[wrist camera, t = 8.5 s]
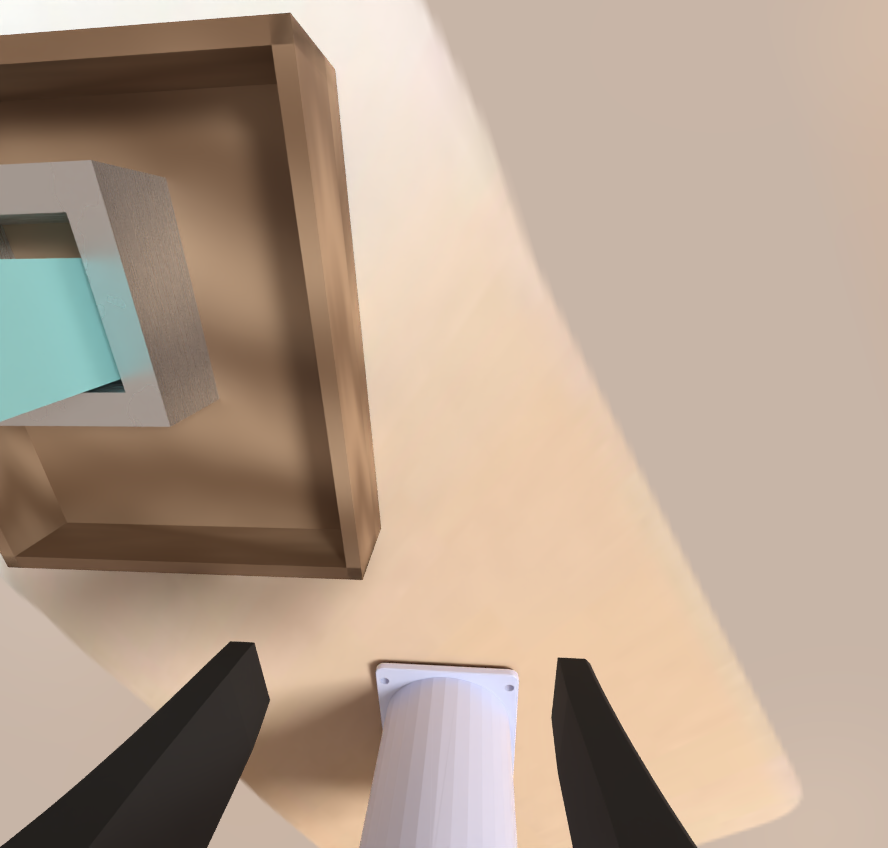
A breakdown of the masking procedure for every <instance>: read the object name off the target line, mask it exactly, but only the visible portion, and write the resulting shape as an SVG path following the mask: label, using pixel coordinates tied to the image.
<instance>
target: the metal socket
mask: <svg viewBox="0 0 888 848" xmlns="http://www.w3.org/2000/svg"><path fill="white" fill-rule="evenodd" d="M65 222H70V225H71V228H72V231H73V234H74V237H75V240H76V243H77V246H78V250H79V253H80V256H81V259H82V262H83V265H84V268H85V271H86V274H87V277H88V280H89V283H90V286H91V289H92V292H93V295H94V298H95V301H96V304H97V307H98V310H99V313H100V316H101V319H102V322H103V325H104V329H105V332H106V335H107V338H108V341H109V344H110V347H111V350H112V353H113V356H114V359H115V362H116V365H117V368H118V371H119V374H120V377H121V379H119V380H117V381H114V382H111V383H108V384H105V385H102V386H100V387H97V388H94V389H91V390H88V391H86V392H83V393H80V394H77V395H74V396H71V397H69V398H66V399H63V400H60V401H57V402H54V403H52V404H49V405H46V406H43V407H40V408H37V409H35V410H32V411H29V412H26V413H23V414H20V415H18V416H15V417H12V418H9V419H6V420H4V421H1V422H0V426H128V427H171V426H172V425H174V424H176V423H178V422H180V421H181V420H183V419H185V418H187V417H188V416H190V415H192V414H194V413H195V412H197V411H199V410H201V409H203V408H204V407H206V406H208V405H210V404H211V403H213V402H215V401H217V400H218V399H219V395H218V391H217V387H216V383H215V378H214V374H213V370H212V366H211V362H210V358H209V354H208V349H207V345H206V341H205V337H204V333H203V329H202V325H201V321H200V316H199V312H198V308H197V304H196V300H195V296H194V292H193V287H192V283H191V279H190V275H189V271H188V267H187V263H186V258H185V254H184V250H183V246H182V242H181V238H180V234H179V229H178V225H177V221H176V217H175V213H174V209H173V205H172V201H171V196H170V192H169V188H168V184H167V180H166V178H165V177H160V176H156V175H152V174H148V173H144V172H139V171H135V170H131V169H127V168H122V167H118V166H114V165H110V164H106V163H101V162H97V161H93V160H83V161H63V162H43V163H23V164H3V165H0V259H15V256H14V254H13V251H12V249H11V246H10V243H9V241H8V238H7V236H6V233H5V230H4V228H3V225H11V224H38V223H65Z"/></svg>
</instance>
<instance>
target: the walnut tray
mask: <svg viewBox="0 0 888 848" xmlns="http://www.w3.org/2000/svg"><path fill="white" fill-rule="evenodd" d="M83 160H93V161H97V162H101V163H106V164H110V165H114V166H118V167H122V168H127V169H131V170H135V171H139V172H144V173H148V174H152V175H156V176H160V177H165V178H166V180H167V184H168V188H169V192H170V196H171V201H172V205H173V209H174V213H175V217H176V221H177V225H178V229H179V234H180V238H181V242H182V246H183V250H184V254H185V258H186V263H187V267H188V271H189V275H190V279H191V283H192V287H193V292H194V296H195V300H196V304H197V308H198V312H199V316H200V321H201V325H202V329H203V333H204V337H205V341H206V345H207V349H208V354H209V358H210V362H211V366H212V370H213V374H214V378H215V383H216V387H217V391H218V395H219V399H218V400H217V401H215V402H213V403H211V404H210V405H208V406H206V407H204V408H203V409H201V410H199V411H197V412H195V413H194V414H192V415H190V416H188V417H187V418H185V419H183V420H181V421H180V422H178V423H176V424H174V425H172V426H171V427H128V426H0V553H1V554H2V556H3V558H4V560H5V562H6V564H7V566H8V567H18V568H46V569H74V570H102V571H130V572H158V573H186V574H214V575H242V576H270V577H298V578H326V579H354V580H363V577H364V574H365V572H366V569H367V566H368V563H369V560H370V557H371V555H372V552H373V549H374V546H375V543H376V541H377V538H378V535H379V532H380V529H381V524H380V514H379V504H378V494H377V484H376V474H375V464H374V454H373V444H372V434H371V424H370V414H369V404H368V394H367V384H366V374H365V364H364V354H363V344H362V334H361V324H360V314H359V304H358V294H357V284H356V274H355V264H354V254H353V244H352V234H351V225H350V215H349V205H348V195H347V185H346V175H345V165H344V155H343V145H342V135H341V125H340V115H339V105H338V95H337V85H336V75H335V69H334V68H333V66H332V65H331V64H330V63H329V61H328V60H327V59H326V57H325V56H324V55H323V54H322V52H321V51H320V50H319V49H318V47H317V46H316V45H315V43H314V42H313V41H312V40H311V38H310V37H309V36H308V35H307V33H306V32H305V31H304V30H303V28H302V27H301V26H300V24H299V23H298V22H297V21H296V19H295V18H294V17H293V16H292V14H291V13H281V14H269V15H256V16H243V17H230V18H217V19H205V20H192V21H179V22H166V23H153V24H140V25H128V26H115V27H102V28H89V29H76V30H64V31H51V32H38V33H25V34H12V35H0V165H3V164H23V163H43V162H63V161H83ZM3 228H4V230H5V233H6V236H7V238H8V241H9V243H10V246H11V249H12V251H13V254H14V256H15V259H47V258H81V256H80V253H79V250H78V246H77V243H76V240H75V237H74V234H73V231H72V228H71V225H70V222H65V223H38V224H11V225H3Z"/></svg>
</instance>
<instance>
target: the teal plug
mask: <svg viewBox="0 0 888 848" xmlns="http://www.w3.org/2000/svg"><path fill="white" fill-rule="evenodd" d="M119 379H121V377H120V374H119V371H118V368H117V365H116V362H115V359H114V356H113V353H112V350H111V347H110V344H109V341H108V338H107V335H106V332H105V329H104V325H103V322H102V319H101V316H100V313H99V310H98V307H97V304H96V301H95V298H94V295H93V292H92V289H91V286H90V283H89V280H88V277H87V274H86V271H85V268H84V265H83V262H82V259H81V258H47V259H0V422H1V421H4V420H6V419H9V418H12V417H15V416H18V415H20V414H23V413H26V412H29V411H32V410H35V409H37V408H40V407H43V406H46V405H49V404H52V403H54V402H57V401H60V400H63V399H66V398H69V397H71V396H74V395H77V394H80V393H83V392H86V391H88V390H91V389H94V388H97V387H100V386H102V385H105V384H108V383H111V382H114V381H117V380H119Z"/></svg>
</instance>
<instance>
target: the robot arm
mask: <svg viewBox="0 0 888 848" xmlns="http://www.w3.org/2000/svg"><path fill="white" fill-rule="evenodd" d="M375 674H376V682H377V690H378V698H379V706H380V714H381V722H382V730H383V732H382V737H381V742H380V747H379V752H378V757H377V762H376V767H375V772H374V777H373V782H372V787H371V792H370V797H369V802H368V807H367V812H366V816H365V821H364V826H363V831H362V836H361V841H360V846H359V848H518V847H517V832H516V816H515V801H514V785H513V771H514V754H515V737H516V720H517V703H518V686H519V678H518V674H517V672H516V671H514V670H511V669H495V668H476V667H457V666H437V665H418V664H399V663H381V664H379V665H378V666H377V668H376V673H375ZM269 702H270V699H269V695H268V691H267V687H266V684H265V680H264V676H263V673H262V669H261V665H260V662H259V658H258V654H257V651H256V647H255V643H252V642H231V641H230V642H229V643H228V644H227V645H226V646H225V647H224V648H223V649H222V650H221V651H220V652H219V653H218V654H217V655H216V656H214V657H213V658H212V659H211V660H210V661H209V662H208V663H207V664H206V665H205V666H204V667H203V668H202V669H201V670H200V671H199V672H198V673H197V674H196V675H195V676H194V677H193V678H192V679H191V680H190V681H189V682H188V683H187V684H186V685H184V686H183V687H182V688H181V689H180V690H179V691H178V692H177V693H176V694H175V695H174V696H173V697H172V698H171V699H170V700H169V701H168V702H167V703H166V704H165V705H164V706H163V707H161V708H160V709H159V710H158V711H157V712H156V713H155V714H154V715H153V716H152V717H151V718H150V719H149V720H148V721H147V722H146V723H145V724H143V725H142V726H141V727H140V728H139V729H138V730H137V731H136V732H135V733H134V734H133V735H132V736H131V737H129V738H128V739H127V740H126V741H125V742H124V743H123V744H122V745H121V746H120V747H119V748H117V749H116V750H115V751H114V752H113V753H112V754H111V755H109V756H108V757H107V758H106V759H105V760H104V761H103V762H102V763H100V764H99V765H98V766H97V767H96V768H95V769H94V770H93V771H91V772H90V773H89V774H88V775H87V776H86V777H85V778H84V779H82V780H81V781H80V782H79V783H78V784H77V785H75V786H74V787H73V788H72V789H71V790H70V791H68V792H67V793H66V794H65V795H64V796H63V797H61V798H60V799H59V800H58V801H57V802H55V803H54V804H53V805H52V806H51V807H49V808H48V809H47V810H46V811H45V812H43V813H42V814H41V815H40V816H38V817H37V818H36V819H35V820H33V821H32V822H31V823H30V824H29V825H27V826H26V827H25V828H24V829H22V830H21V831H20V832H19V833H17V834H16V835H15V836H14V837H12V838H11V839H10V840H9V841H7V842H6V843H5V844H4V845H2V846H1V847H0V848H207V847H208V845H209V842H210V840H211V838H212V836H213V834H214V832H215V830H216V828H217V825H218V823H219V821H220V819H221V817H222V814H223V813H224V810H225V808H226V806H227V804H228V802H229V800H230V798H231V796H232V794H233V791H234V789H235V787H236V785H237V783H238V781H239V778H240V776H241V774H242V772H243V770H244V768H245V765H246V763H247V761H248V759H249V757H250V754H251V752H252V750H253V747H254V744H255V742H256V739H257V736H258V734H259V731H260V728H261V725H262V722H263V719H264V716H265V713H266V710H267V707H268V704H269ZM551 718H552V727H553V736H554V744H555V753H556V761H557V769H558V775H559V781H560V786H561V791H562V796H563V801H564V806H565V811H566V815H567V820H568V825H569V830H570V835H571V840H572V845H573V848H697V846H696V845H695V844H694V842H693V841H692V839H691V838H690V836H689V835H688V833H687V831H686V830H685V828H684V827H683V825H682V824H681V822H680V821H679V819H678V818H677V816H676V815H675V813H674V811H673V810H672V808H671V807H670V805H669V804H668V802H667V801H666V799H665V797H664V796H663V794H662V793H661V791H660V789H659V788H658V786H657V785H656V783H655V781H654V780H653V778H652V776H651V775H650V773H649V771H648V770H647V768H646V766H645V765H644V763H643V761H642V760H641V758H640V756H639V755H638V753H637V751H636V750H635V748H634V746H633V745H632V743H631V741H630V739H629V738H628V736H627V734H626V732H625V731H624V729H623V727H622V725H621V723H620V722H619V720H618V718H617V716H616V714H615V712H614V711H613V709H612V707H611V705H610V703H609V701H608V699H607V697H606V696H605V694H604V692H603V690H602V688H601V686H600V684H599V682H598V680H597V678H596V676H595V673H594V671H593V669H592V667H591V665H590V663H589V662H588V661H587V660H586V659H576V658H558V661H557V670H556V679H555V689H554V698H553V708H552V717H551Z"/></svg>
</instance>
